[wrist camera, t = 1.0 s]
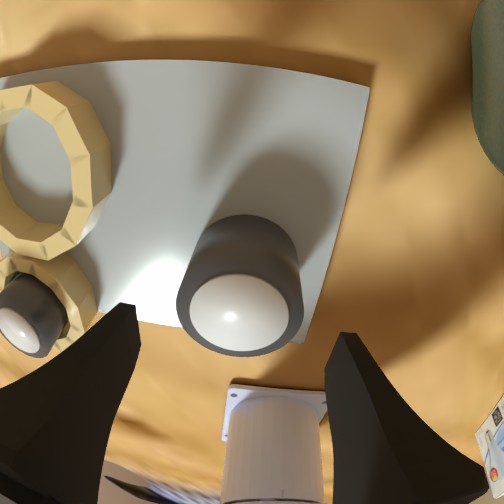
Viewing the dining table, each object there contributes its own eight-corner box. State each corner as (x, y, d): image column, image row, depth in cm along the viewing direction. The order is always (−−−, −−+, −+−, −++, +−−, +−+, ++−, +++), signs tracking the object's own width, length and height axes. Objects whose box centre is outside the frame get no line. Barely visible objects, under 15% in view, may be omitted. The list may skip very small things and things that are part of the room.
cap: (287, 308, 17) (289, 365, 14) (192, 295, 17) (176, 350, 13) (307, 222, 14) (318, 272, 11) (196, 207, 14) (173, 252, 11)
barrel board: (293, 355, 21) (297, 425, 16) (29, 306, 20) (-7, 353, 15) (362, 86, 12) (411, 92, 8) (-6, 80, 12) (-73, 96, 7)
